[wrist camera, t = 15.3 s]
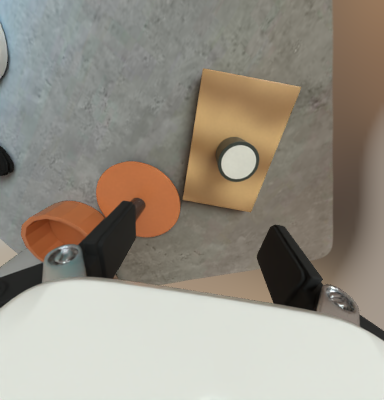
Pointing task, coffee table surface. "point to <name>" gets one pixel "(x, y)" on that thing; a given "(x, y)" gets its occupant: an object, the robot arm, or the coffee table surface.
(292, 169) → the coffee table surface
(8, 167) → the toy car
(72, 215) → the bowl
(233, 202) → the board
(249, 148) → the sushi
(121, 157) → the coffee table surface
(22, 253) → the cup
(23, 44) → the coffee table surface
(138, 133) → the coffee table surface
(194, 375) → the robot arm
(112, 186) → the lid
